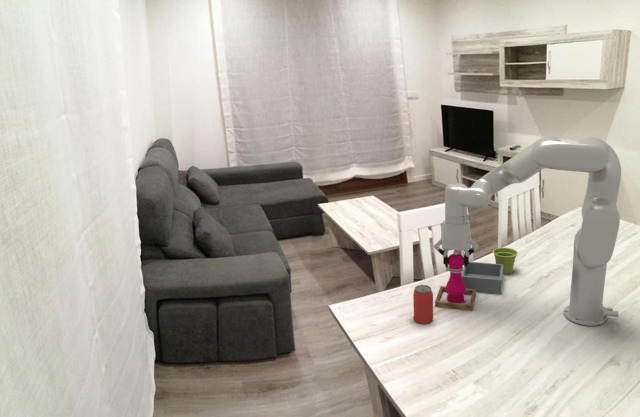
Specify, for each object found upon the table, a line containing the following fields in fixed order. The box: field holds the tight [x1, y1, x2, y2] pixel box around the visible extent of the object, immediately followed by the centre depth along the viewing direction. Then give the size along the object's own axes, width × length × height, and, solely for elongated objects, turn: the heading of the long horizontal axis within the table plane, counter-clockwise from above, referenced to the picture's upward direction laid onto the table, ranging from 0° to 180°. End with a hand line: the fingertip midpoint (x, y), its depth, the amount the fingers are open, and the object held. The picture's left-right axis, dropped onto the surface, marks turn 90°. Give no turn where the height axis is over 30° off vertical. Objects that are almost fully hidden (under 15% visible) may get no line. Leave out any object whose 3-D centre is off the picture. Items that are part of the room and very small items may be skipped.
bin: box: [462, 261, 504, 295], centre depth 188 cm, size 15×15×6 cm
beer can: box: [412, 284, 434, 325], centre depth 166 cm, size 7×7×12 cm
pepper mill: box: [445, 250, 466, 304], centre depth 176 cm, size 7×7×20 cm
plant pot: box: [492, 247, 518, 275], centre depth 197 cm, size 9×9×9 cm
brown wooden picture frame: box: [434, 285, 477, 312], centre depth 178 cm, size 13×13×2 cm
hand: (455, 265), depth 174 cm, fingers closed on pepper mill, 6 cm apart
